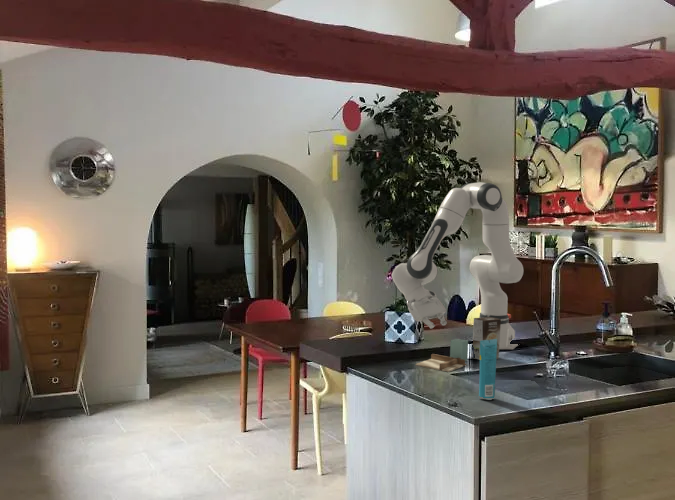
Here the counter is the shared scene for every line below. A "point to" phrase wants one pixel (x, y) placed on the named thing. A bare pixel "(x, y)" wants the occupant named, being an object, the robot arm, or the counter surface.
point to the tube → (487, 368)
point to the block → (459, 349)
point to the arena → (442, 363)
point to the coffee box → (485, 333)
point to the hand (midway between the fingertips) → (439, 326)
